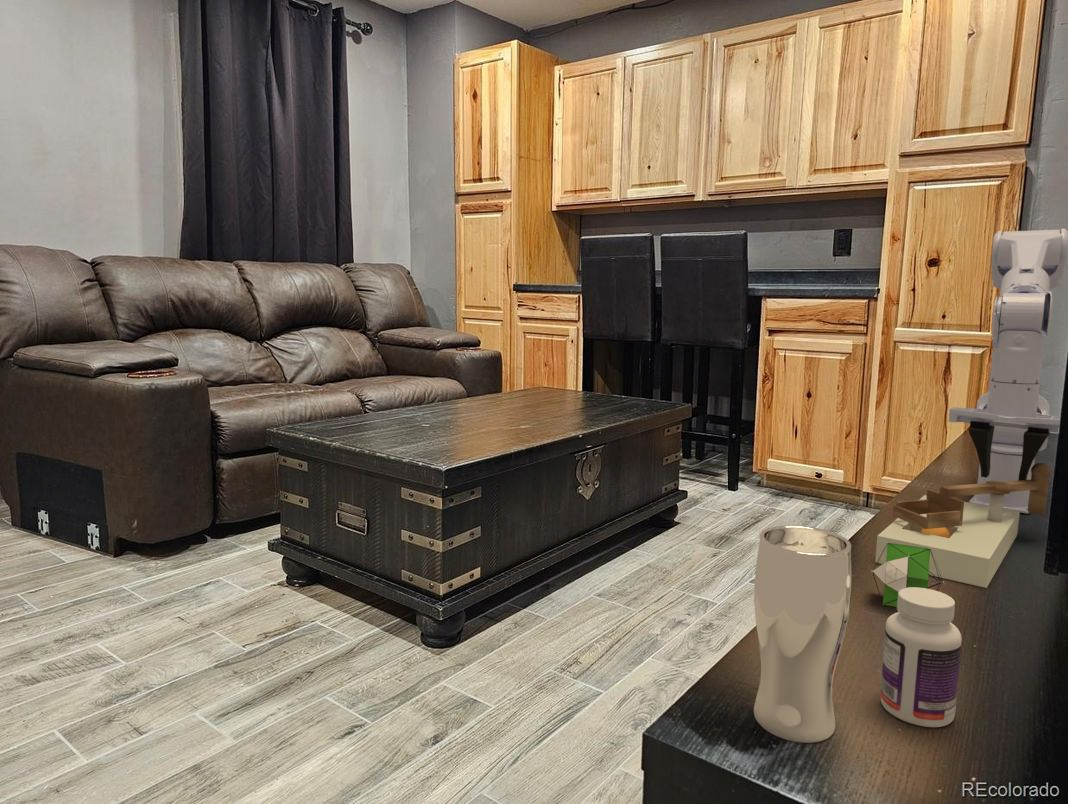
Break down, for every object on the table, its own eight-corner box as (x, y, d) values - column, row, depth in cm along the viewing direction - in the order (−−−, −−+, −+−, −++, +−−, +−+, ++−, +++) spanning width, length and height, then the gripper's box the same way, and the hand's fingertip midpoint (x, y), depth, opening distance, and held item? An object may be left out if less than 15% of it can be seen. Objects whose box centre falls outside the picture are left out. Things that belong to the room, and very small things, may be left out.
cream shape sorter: (922, 517, 108) (926, 471, 107) (1017, 535, 100) (1022, 485, 99) (875, 562, 90) (879, 507, 89) (986, 588, 82) (992, 527, 81)
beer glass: (850, 753, 53) (865, 558, 50) (752, 741, 54) (762, 551, 52) (831, 700, 59) (843, 527, 57) (744, 691, 61) (752, 521, 59)
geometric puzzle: (873, 564, 84) (874, 523, 78) (940, 574, 81) (946, 532, 75) (868, 618, 79) (869, 579, 74) (938, 631, 76) (945, 591, 71)
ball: (954, 547, 93) (932, 561, 93) (932, 526, 95) (910, 539, 95) (961, 535, 90) (938, 550, 90) (938, 514, 93) (916, 528, 92)
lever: (1024, 505, 100) (1029, 458, 99) (1062, 517, 95) (1068, 467, 94) (892, 517, 95) (896, 467, 94) (925, 530, 89) (929, 478, 88)
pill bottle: (961, 708, 58) (972, 595, 57) (945, 738, 54) (957, 618, 53) (890, 684, 62) (899, 577, 60) (870, 711, 58) (879, 597, 57)
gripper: (947, 379, 99) (938, 475, 101) (1078, 389, 90) (1065, 494, 92) (958, 375, 104) (949, 466, 106) (1082, 384, 95) (1070, 483, 97)
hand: (1003, 478), depth 99 cm, fingers open, 4 cm apart
